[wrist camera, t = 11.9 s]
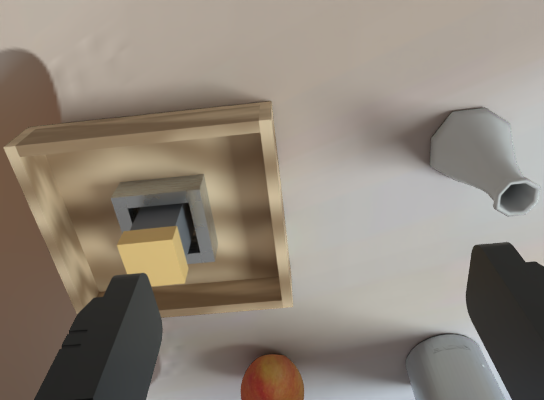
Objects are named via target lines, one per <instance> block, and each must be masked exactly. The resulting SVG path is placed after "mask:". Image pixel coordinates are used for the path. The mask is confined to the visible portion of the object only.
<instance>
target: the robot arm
mask: <svg viewBox="0 0 544 400" xmlns="http://www.w3.org/2000/svg"><path fill="white" fill-rule="evenodd" d="M466 304H467V309H468V313H469V316H470V318H471V321H472V323H473V325H474V326H475V328H476V330H477V332H478V334H479V336H480V338H481V340H482V342H483V344H484V346H485V348H486V350H487V352H488V354H489V356H490V358H491V360H492V362H493V363H494V365H495V367H496V369H497V371H498V373H499V375H500V377H501V379H502V381H503V383H504V385H505V387H506V389H507V391H508V393H509V395H510V397H511V399H512V400H544V267H543V266H542V265H540V264H539V263H537V262H525V261H524V260H523V258H522V257H521V256H520V254H519V253H518V252H517V250H516V249H515V248H514V246H513V245H512V244H510V243H508V242H504V243H493V244H481V245H475V246H474V247H473V249H472V253H471V261H470V268H469V275H468V282H467V290H466ZM161 341H162V320H161V316H160V312H159V309H158V306H157V303H156V300H155V297H154V293H153V290H152V287H151V284H150V281H149V278H148V276H147V274H145V273H135V274H124V275H115V276H113V277H112V279H111V281H110V283H109V285H108V287H107V289H106V292H105V294H104V296H103V297H96V298H93V299H92V300H91V301H90V302H89V303H88V304H87V305H86V306H85V307H84V308H83V309H82V310H81V311H80V312H79V313H78V314H77V316H76V318H75V320H74V322H73V324H72V326H71V328H70V330H69V334H68V335H67V336H66V338H65V340H64V342H63V344H62V349H60V350H59V352H58V354H57V356H56V357H55V360H54V362H53V364H52V365H51V367H50V369H49V371H48V373H47V375H46V377H45V379H44V381H43V383H42V385H41V387H40V389H39V391H38V393H37V395H36V397H35V399H34V400H146V397H147V393H148V389H149V386H150V382H151V378H152V374H153V371H154V367H155V364H156V360H157V356H158V352H159V349H160V345H161ZM406 369H407V372H408V376H409V379H410V382H411V386H412V389H413V392H414V396H415V399H416V400H506V399H505V397H504V395H503V393H502V391H501V389H500V387H499V385H498V383H497V381H496V379H495V377H494V375H493V373H492V371H491V369H490V367H489V365H488V363H487V361H486V359H485V357H484V355H483V353H482V351H481V349H480V347H479V346H478V344H477V343H476V342H475V341H473V340H471V339H470V338H468V337H465V336H461V335H455V334H446V335H440V336H436V337H432V338H429V339H427V340H425V341H423V342H421V343H420V344H418V345H417V346H416V347H415V348H414V349H413V350H412V351H411V352H410V354H409V355H408V357H407V360H406Z"/></svg>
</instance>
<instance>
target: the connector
mask: <svg viewBox="0 0 544 400" xmlns="http://www.w3.org/2000/svg"><path fill="white" fill-rule="evenodd" d="M193 232H194V225H193V221H192V217H191V213H190V209H189V205H188V203H179V204H169V205H158V206H148V207H141V208H140V210H139V212H138V214H137V216H136V218H135V220H134V222H133V225H132V227H131V229H130V231H124V232H123V234H122V236H121V238H120V240H119V242H118V244H117V247H118V250H119V253H120V256H121V258H122V261H123V264H124V267H125V269H126V272H127V274H135V273H145V274H147V276H148V278H149V281H150V284H151V287H152V286H163V285H174V284H184V283H185V281H186V277H187V273H188V269H189V268H188V265H187V261H186V259H187V255H188V251H189V247H190V243H191V240H192V236H193Z"/></svg>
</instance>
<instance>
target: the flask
mask: <svg viewBox="0 0 544 400" xmlns="http://www.w3.org/2000/svg"><path fill="white" fill-rule="evenodd" d="M430 167H432V168H434V169H436V170H437V171H439V172H441V173H443V174H444V175H446V176H448V177H450V178H451V179H453V180H456V181H458V182H462V183H465V184H468V185H471V186H473V187H476V188H478V189H481V190H483V191H484V192H486V193H487V194H488V195H489V196H490V197H491V198H492V199H493V200H494V205H493V207H494V209H495V210H497V211H499V212H501V213H502V214H504V215H506V216H518V215H525V214H526V213H527V212H528V211H529V210H530V209H531V208H532V207H533V206H534V205H535V204H536V203H537V202H538V199H539V194H540V188H541V187H540V186H539V185H537V184H536V183H534V182H532V181H531V180H529V179H527V178H525V177H524V176H523V174H522V173H521V171H520V169H519V167H518V165H517V162H516V158H515V153H514V148H513V142H512V134H511V127H510V123H509V122H507V121H506V120H504V119H502V118H501V117H499V116H498V115H496V114H495V113H493V112H491V111H490V110H488V109H487V108H479V109H471V110H463V111H454V112H452V113H451V114H450V115H449V116H448V118H447V119H446V120H445V121H444V123H443V124H442V125H441V126H440V128H439V129H438V130H437V131H436V133H435V134H434V135H433V136H432V138H431V152H430Z"/></svg>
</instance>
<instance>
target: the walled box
mask: <svg viewBox="0 0 544 400" xmlns="http://www.w3.org/2000/svg"><path fill="white" fill-rule="evenodd" d="M3 148H4V150H5V152H6V155H7V157H8V159H9V161H10V164H11V166H12V168H13V171H14V173H15V175H16V177H17V180H18V182H19V184H20V186H21V189H22V191H23V193H24V196H25V198H26V200H27V202H28V205H29V207H30V209H31V211H32V214H33V216H34V218H35V220H36V223H37V225H38V227H39V230H40V232H41V234H42V236H43V239H44V241H45V243H46V245H47V248H48V250H49V252H50V255H51V257H52V259H53V261H54V264H55V266H56V268H57V270H58V273H59V275H60V277H61V280H62V282H63V284H64V286H65V289H66V291H67V293H68V295H69V298H70V300H71V302H72V304H73V307H74V309H75V311H76V314H78V313H79V312H80V311H81V310H82V309H83V308H84V307H85V306H86V305H87V304H88V303H89V302H90V301H91V300H92V299H93V298H96V297H103V296H104V294H105V292H106V289H107V287H108V285H109V283H110V281H111V279H112V277H113V276H115V275H124V274H127V272H126V269H125V267H124V264H123V261H122V258H121V256H120V253H119V250H118V247H117V244H118V242H119V240H120V238H121V236H122V231H121V228H120V225H119V222H118V219H117V216H116V213H115V210H114V207H113V204H112V201H111V197H112V195H113V193H114V192H115V190H116V188H117V187H118V185H119V183H120V182H127V181H138V180H148V179H158V178H168V177H178V176H189V175H199V174H204V177H205V182H206V187H207V192H208V196H209V201H210V206H211V211H212V216H213V221H214V225H215V230H216V235H217V240H218V248H217V253H216V259H215V262H206V263H195V264H187V265H188V268H189V269H188V273H187V277H186V281H185V283H184V284H174V285H163V286H152V290H153V293H154V297H155V300H156V303H157V306H158V309H159V312H160V316H161V318H164V317H176V316H189V315H201V314H213V313H226V312H238V311H250V310H263V309H275V308H287V307H293V298H292V280H291V270H290V261H289V253H288V244H287V235H286V226H285V217H284V208H283V199H282V191H281V182H280V173H279V164H278V155H277V146H276V137H275V129H274V120H273V111H272V102H271V101H269V102H260V103H250V104H241V105H231V106H222V107H212V108H203V109H194V110H184V111H175V112H165V113H156V114H146V115H137V116H128V117H118V118H109V119H99V120H90V121H80V122H71V123H62V124H52V125H43V126H34V127H28V128H27V129H26V130H24V131H23V132H22V133H20V134H19V135H18V136H17V137H15V138H14V139H13V140H12V141H11V142H9V143H8V144H7V145H6V146H5V147H3ZM188 205H189V203H188ZM189 209H190V206H189ZM190 213H191V210H190ZM191 217H192V214H191ZM192 221H193V219H192ZM193 225H194V223H193ZM193 236H196V232H195V227H194V232H193Z"/></svg>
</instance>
